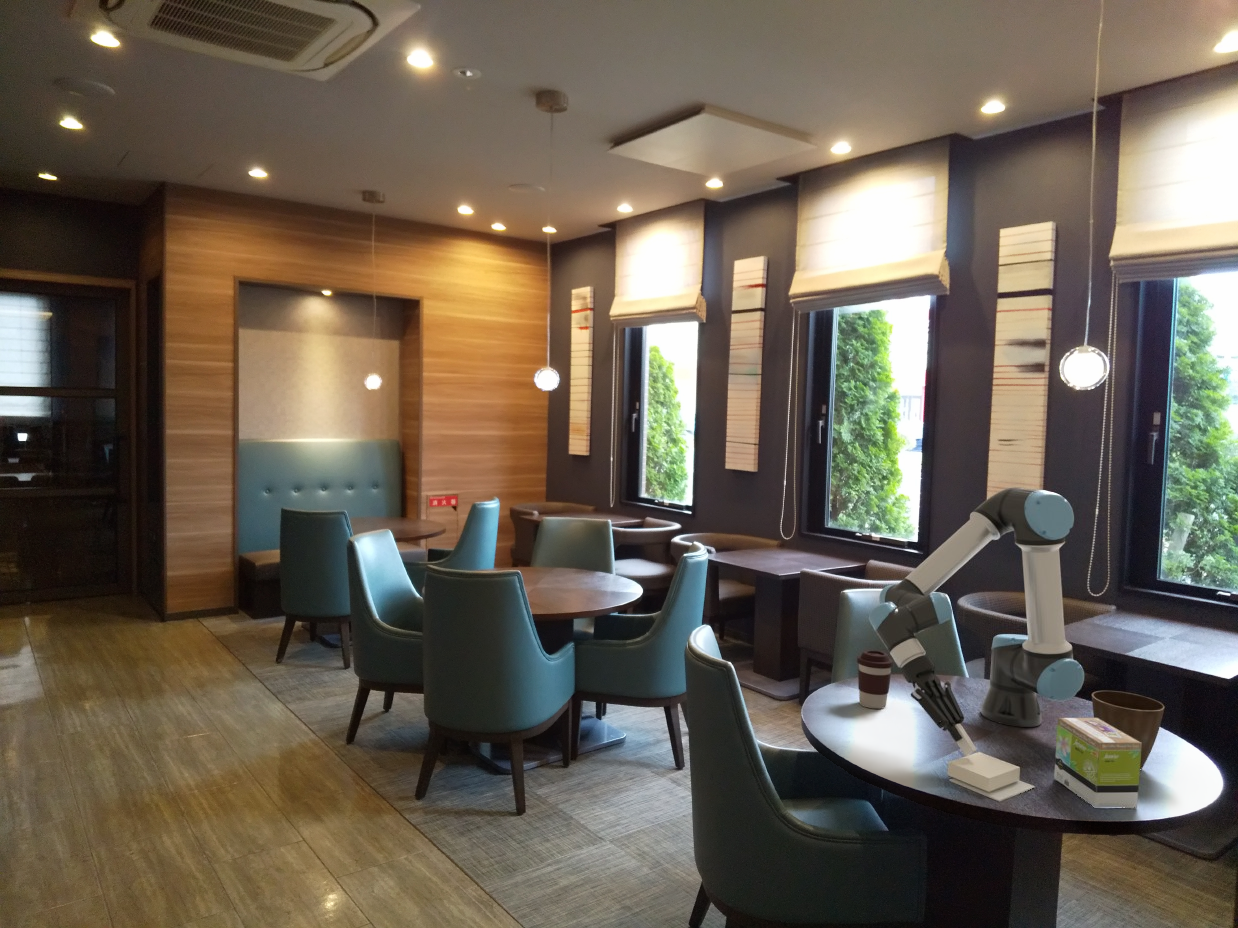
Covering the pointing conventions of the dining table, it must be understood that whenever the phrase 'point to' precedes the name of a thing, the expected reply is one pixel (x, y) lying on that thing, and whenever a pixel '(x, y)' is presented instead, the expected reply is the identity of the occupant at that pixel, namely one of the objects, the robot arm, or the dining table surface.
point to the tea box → (1098, 762)
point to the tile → (983, 771)
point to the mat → (998, 793)
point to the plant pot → (1130, 716)
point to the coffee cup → (874, 678)
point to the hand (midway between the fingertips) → (971, 752)
